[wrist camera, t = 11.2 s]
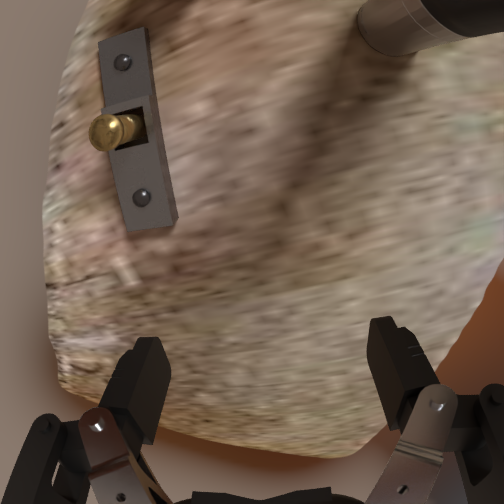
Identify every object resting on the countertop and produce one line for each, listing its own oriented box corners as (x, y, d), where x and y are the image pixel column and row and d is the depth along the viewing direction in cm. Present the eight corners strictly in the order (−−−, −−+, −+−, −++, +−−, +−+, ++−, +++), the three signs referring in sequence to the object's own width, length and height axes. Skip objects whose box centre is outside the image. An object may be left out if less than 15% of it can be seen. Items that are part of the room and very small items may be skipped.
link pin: (148, 108, 37) (117, 109, 28) (153, 137, 39) (124, 146, 30) (121, 115, 38) (86, 120, 29) (126, 143, 40) (92, 155, 31)
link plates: (147, 29, 32) (137, 22, 29) (178, 217, 44) (171, 227, 41) (103, 43, 33) (90, 39, 29) (135, 223, 45) (125, 233, 41)
